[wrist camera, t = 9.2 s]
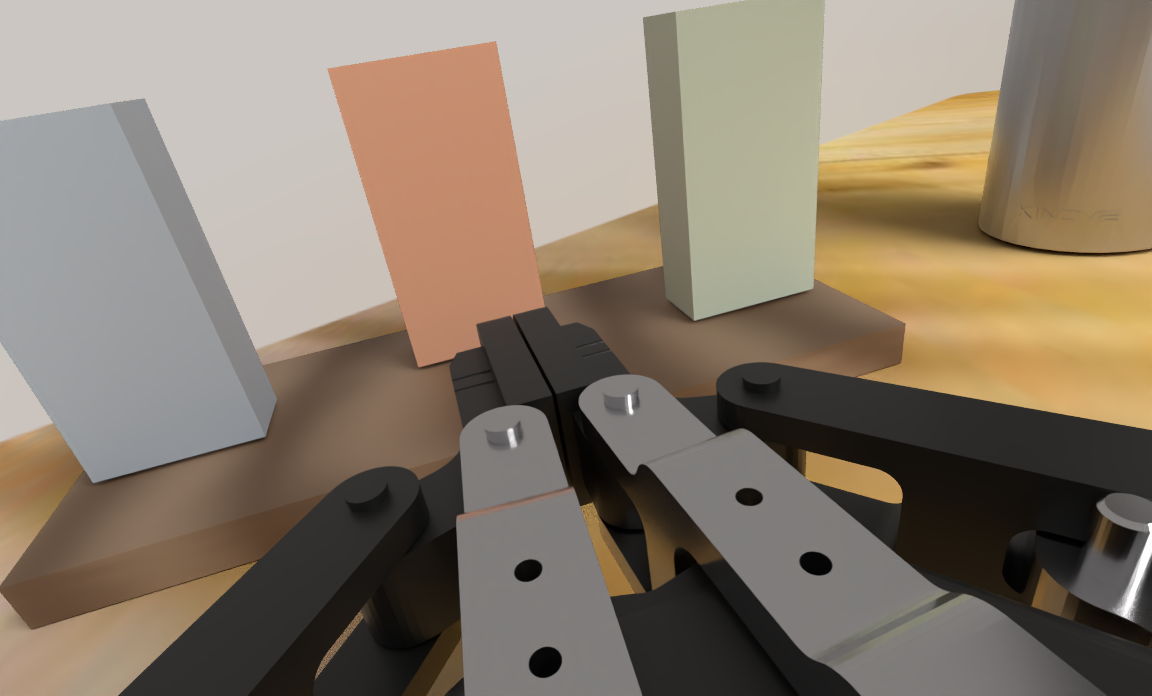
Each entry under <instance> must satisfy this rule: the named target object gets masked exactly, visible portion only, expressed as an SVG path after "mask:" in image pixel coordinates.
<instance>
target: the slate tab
mask: <svg viewBox="0 0 1152 696" xmlns="http://www.w3.org/2000/svg"><path fill="white" fill-rule="evenodd" d="M0 342H1V344H2V345H3V347H4V348H5V350H6V351H7V353H8V354H9V356H10V358H11V359H12V360H13V362H14V364H15V365H16V367H17V368H18V370H19V371H20V373H21V374H22V376H23V377H24V379H25V380H26V382H27V383H28V385H29V386H30V388H31V389H32V391H33V392H34V394H35V396H36V397H37V399H38V400H39V402H40V403H41V405H42V406H43V408H44V409H45V411H46V412H47V414H48V415H49V417H50V418H51V420H52V421H53V423H54V424H55V426H56V427H57V429H58V430H59V432H60V434H61V435H62V437H63V438H64V440H65V441H66V443H67V444H68V446H69V447H70V449H71V450H72V452H73V453H74V455H75V456H76V458H77V459H78V461H79V462H80V464H81V465H82V467H83V468H84V470H85V472H86V473H87V475H88V476H89V478H90V479H91V481H92V482H93V483H96V482H99V481H103V480H107V479H110V478H114V477H118V476H121V475H125V474H129V473H133V472H136V471H140V470H144V469H147V468H151V467H155V466H159V465H162V464H166V463H170V462H173V461H177V460H181V459H184V458H188V457H192V456H196V455H199V454H203V453H207V452H210V451H214V450H218V449H221V448H225V447H229V446H233V445H236V444H240V443H244V442H247V441H251V440H255V439H259V438H262V437H266V434H267V430H268V427H269V424H270V421H271V417H272V414H273V411H274V407H275V404H276V401H277V398H276V395H275V393H274V391H273V389H272V386H271V384H270V382H269V380H268V377H267V375H266V373H265V370H264V368H263V366H262V364H261V361H260V359H259V357H258V355H257V352H256V350H255V348H254V346H253V343H252V341H251V339H250V336H249V335H248V332H247V330H246V327H245V325H244V323H243V321H242V318H241V316H240V314H239V312H238V309H237V307H236V305H235V303H234V300H233V298H232V296H231V294H230V291H229V289H228V287H227V284H226V282H225V280H224V278H223V276H222V273H221V271H220V269H219V266H218V264H217V262H216V259H215V257H214V255H213V253H212V251H211V248H210V246H209V244H208V241H207V239H206V237H205V235H204V232H203V230H202V228H201V226H200V223H199V221H198V219H197V216H196V214H195V212H194V210H193V207H192V205H191V203H190V201H189V198H188V196H187V194H186V192H185V189H184V187H183V185H182V183H181V180H180V178H179V176H178V174H177V171H176V169H175V167H174V165H173V162H172V160H171V158H170V155H169V153H168V151H167V148H166V146H165V144H164V142H163V139H162V137H161V135H160V133H159V130H158V128H157V126H156V124H155V122H154V119H153V117H152V114H151V112H150V110H149V108H148V105H147V103H146V101H145V99H137V100H131V101H123V102H116V103H109V104H103V105H97V106H91V107H85V108H78V109H72V110H66V111H60V112H54V113H48V114H41V115H35V116H29V117H23V118H17V119H11V120H4V121H0Z"/></svg>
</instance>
